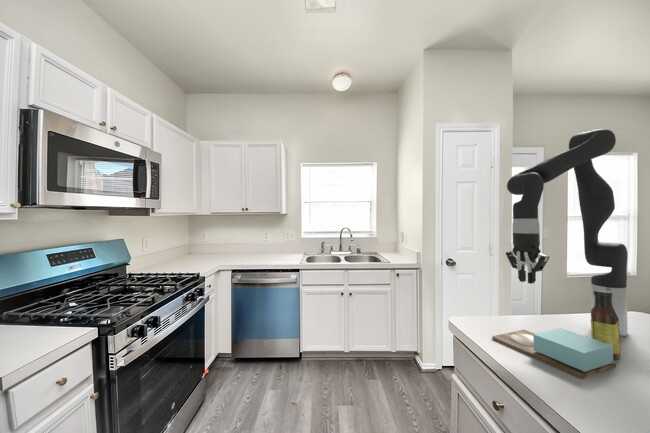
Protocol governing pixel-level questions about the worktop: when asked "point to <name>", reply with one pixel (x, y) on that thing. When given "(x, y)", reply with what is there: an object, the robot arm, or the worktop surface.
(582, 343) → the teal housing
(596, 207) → the robot arm
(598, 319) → the sauce bottle
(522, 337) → the walnut board
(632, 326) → the worktop surface
